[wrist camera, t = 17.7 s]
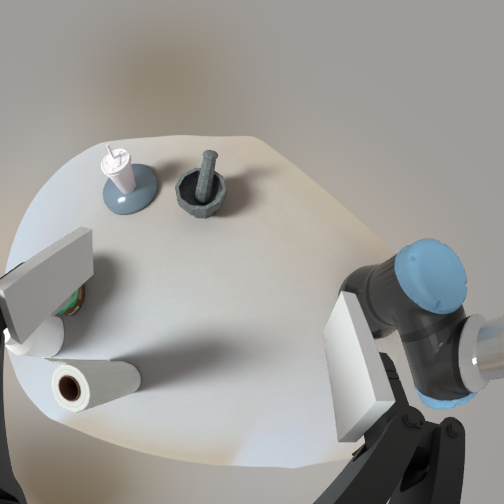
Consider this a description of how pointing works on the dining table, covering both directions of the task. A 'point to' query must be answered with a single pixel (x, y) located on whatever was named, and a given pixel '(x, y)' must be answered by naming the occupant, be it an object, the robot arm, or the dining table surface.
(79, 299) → the food container
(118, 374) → the paper towel roll
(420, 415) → the robot arm
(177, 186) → the mortar and pestle
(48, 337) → the jar
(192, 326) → the dining table surface
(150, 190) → the dish
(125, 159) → the smoothie
